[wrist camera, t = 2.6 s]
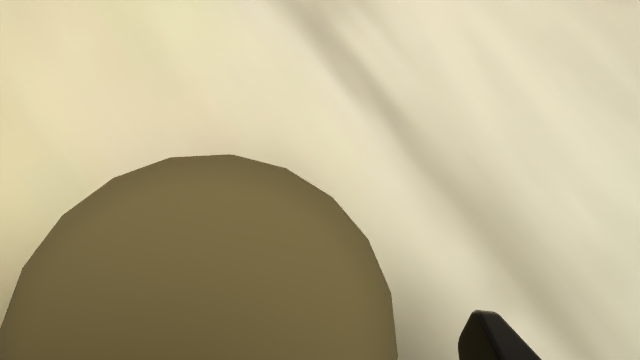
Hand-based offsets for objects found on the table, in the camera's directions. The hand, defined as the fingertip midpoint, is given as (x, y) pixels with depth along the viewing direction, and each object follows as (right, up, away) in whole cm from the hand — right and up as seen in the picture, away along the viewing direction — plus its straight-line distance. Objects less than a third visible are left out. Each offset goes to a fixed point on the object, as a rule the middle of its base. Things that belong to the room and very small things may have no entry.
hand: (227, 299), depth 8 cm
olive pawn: (-1, -2, +8) cm, 8 cm away
